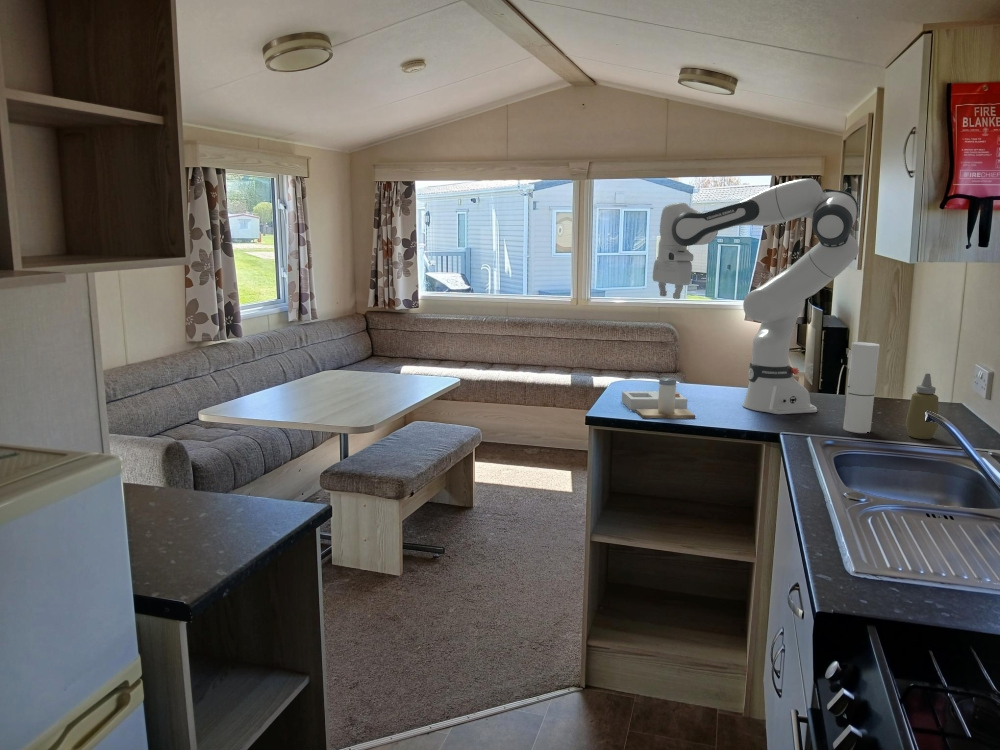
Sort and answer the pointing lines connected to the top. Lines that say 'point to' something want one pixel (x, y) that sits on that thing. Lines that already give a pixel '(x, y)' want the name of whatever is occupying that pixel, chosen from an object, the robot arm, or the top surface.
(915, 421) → the squeeze bottle
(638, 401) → the block
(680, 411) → the cork pad
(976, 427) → the top surface
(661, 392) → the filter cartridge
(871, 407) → the cylindrical container
